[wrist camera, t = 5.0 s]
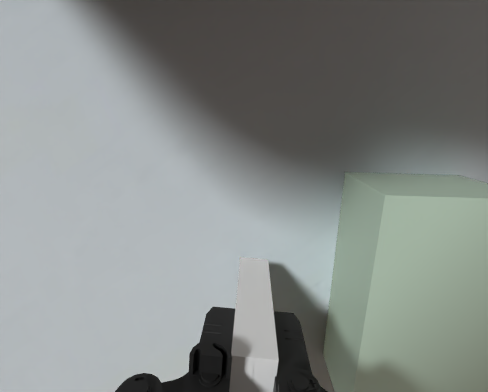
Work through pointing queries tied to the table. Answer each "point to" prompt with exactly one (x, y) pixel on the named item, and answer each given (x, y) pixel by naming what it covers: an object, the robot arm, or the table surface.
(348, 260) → the sage green block
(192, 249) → the table surface
